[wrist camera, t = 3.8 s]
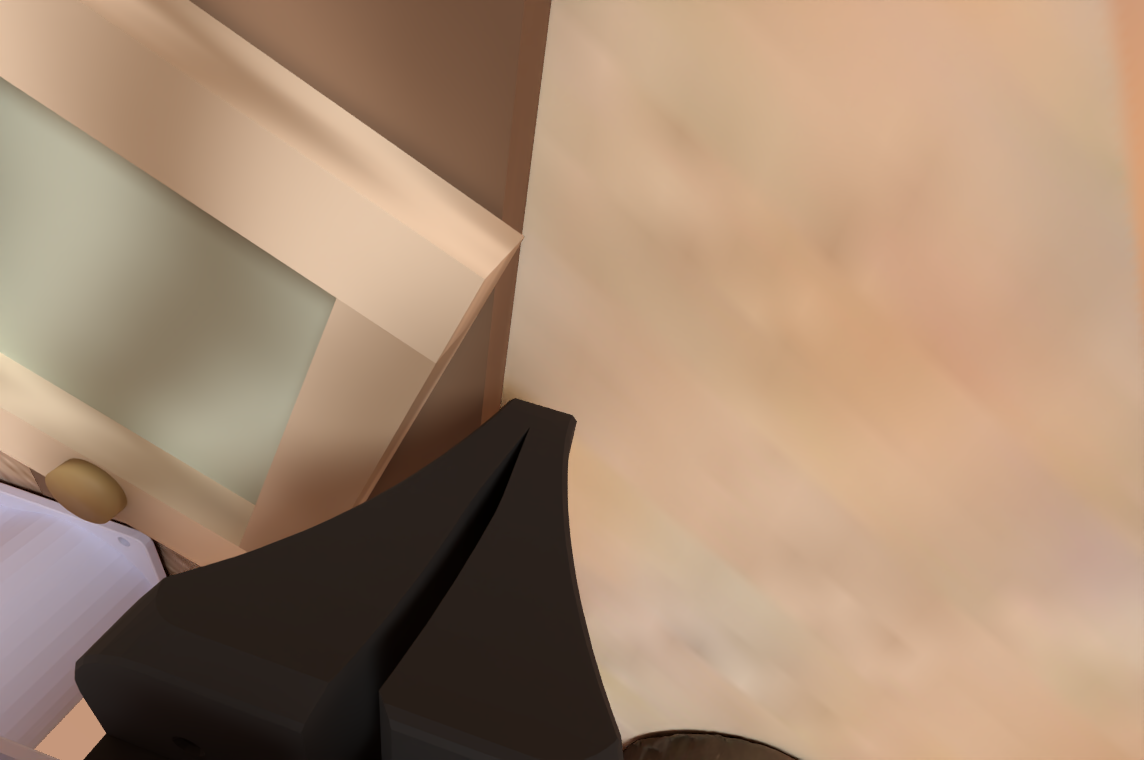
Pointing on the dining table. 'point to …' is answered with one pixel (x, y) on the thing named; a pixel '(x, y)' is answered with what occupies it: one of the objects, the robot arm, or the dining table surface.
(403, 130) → the walnut board
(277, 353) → the cabinet door with knob
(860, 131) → the dining table surface
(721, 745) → the pillar candle
